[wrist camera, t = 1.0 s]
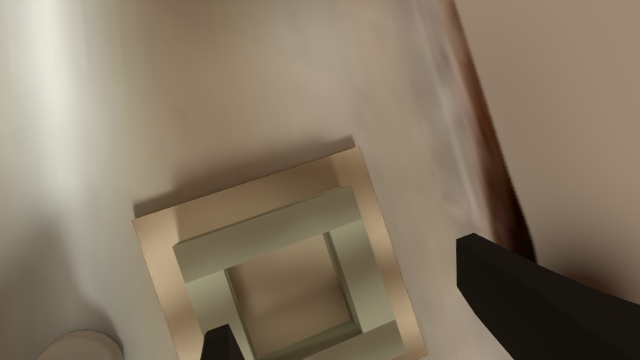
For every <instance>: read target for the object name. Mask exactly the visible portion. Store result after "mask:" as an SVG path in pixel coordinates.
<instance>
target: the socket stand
mask: <svg viewBox="0 0 640 360" xmlns="http://www.w3.org/2000/svg"><path fill="white" fill-rule="evenodd" d="M132 222H133V225H134V228H135V231H136V234H137V237H138V240H139V243H140V246H141V248H142V251H143V254H144V257H145V260H146V263H147V266H148V269H149V272H150V275H151V278H152V280H153V283H154V286H155V289H156V292H157V295H158V298H159V301H160V304H161V307H162V309H163V312H164V315H165V318H166V321H167V324H168V327H169V330H170V333H171V336H172V339H173V341H174V344H175V347H176V350H177V353H178V356H179V359H180V360H200V358H201V353H202V347H203V341H204V335H205V334H206V332H207V331H209V330H211V329H214V328H217V327H220V326H222V325H225V324H228V323H229V326H230V328H231V330H232V332H233V334H234V337H235V339H236V341H237V343H238V345H239V347H240V350H241V352H242V354H243V356H244V358H245V360H417V359H419V358H422V357H424V356H426V355H428V354H427V351H426V348H425V345H424V342H423V339H422V336H421V333H420V330H419V327H418V324H417V321H416V318H415V315H414V312H413V309H412V305H411V302H410V299H409V296H408V293H407V290H406V287H405V284H404V281H403V278H402V275H401V272H400V269H399V266H398V263H397V260H396V257H395V254H394V251H393V247H392V244H391V241H390V238H389V235H388V232H387V229H386V226H385V223H384V220H383V217H382V214H381V211H380V208H379V205H378V202H377V199H376V196H375V192H374V189H373V186H372V183H371V180H370V177H369V174H368V171H367V168H366V165H365V162H364V159H363V156H362V153H361V150H360V147H359V146H358V147H355V148H352V149H349V150H345V151H342V152H339V153H336V154H333V155H330V156H327V157H324V158H321V159H318V160H315V161H312V162H309V163H305V164H302V165H299V166H296V167H293V168H290V169H287V170H284V171H281V172H278V173H275V174H272V175H269V176H265V177H262V178H259V179H256V180H253V181H250V182H247V183H244V184H241V185H238V186H235V187H232V188H229V189H225V190H222V191H219V192H216V193H213V194H210V195H207V196H204V197H201V198H198V199H195V200H192V201H189V202H185V203H182V204H179V205H176V206H173V207H170V208H167V209H164V210H161V211H158V212H155V213H152V214H149V215H145V216H142V217H139V218H136V219H133V220H132Z"/></svg>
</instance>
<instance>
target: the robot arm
mask: <svg viewBox="0 0 640 360" xmlns="http://www.w3.org/2000/svg"><path fill="white" fill-rule="evenodd" d="M456 262H457V287H458V289H459V290H460V292H461V293H462V295H463V296H464V298H465V300H466V301H467V303H468V304H469V306H470V307H471V308H472V310H473V311H474V313H475V314H476V316H477V317H478V318H479V319H480V320H481V322H482V323H483V324H484V325H485V326H486V327H487V329H488V330H489V331H490V332H491V333H492V335H493V336H494V337H495V338H496V339H497V340H498V342H499V343H500V344H501V345H502V346H503V347H504V349H505V350H506V351H507V352H508V353H509V354H510V356H511V357H512V358H513V359H514V360H640V305H638V304H635V303H632V302H629V301H626V300H624V299H621V298H618V297H615V296H612V295H610V294H607V293H604V292H601V291H599V290H596V289H593V288H591V287H588V286H586V285H583V284H581V283H579V282H576V281H574V280H571V279H569V278H566V277H564V276H562V275H560V274H557V273H555V272H553V271H551V270H549V269H546V268H544V267H542V266H540V265H538V264H536V263H534V262H532V261H529V260H527V259H525V258H523V257H521V256H519V255H517V254H515V253H513V252H511V251H509V250H507V249H505V248H503V247H501V246H499V245H497V244H495V243H493V242H491V241H489V240H487V239H485V238H483V237H481V236H479V235H477V234H475V233H472V234H469V235H467V236H464V237H461V238H458V239H456ZM200 360H245V358H244V356H243V354H242V352H241V350H240V347H239V345H238V343H237V341H236V339H235V337H234V334H233V332H232V330H231V328H230V326H229V323H228V324H225V325H222V326H220V327H217V328H214V329H211V330H209V331H207V332H206V334H205V335H204V341H203V347H202V353H201V358H200Z"/></svg>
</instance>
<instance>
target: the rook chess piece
mask: <svg viewBox="0 0 640 360" xmlns="http://www.w3.org/2000/svg"><path fill="white" fill-rule="evenodd" d="M36 360H124V357H123V355H122V353H121V350H120V348H119V346H118V344H116V343H115V342H114V341H113V340H111V339H110V338H109V337H108V336H106V335H105V334H102V333H98V332H94V331H91V330H85V331H74V332H70V333H68V334H66V335H64V336H62V337H60V338H58V339H56V340H55V341H54V342H53V343H52V344H51V345H50V346H49V347H48V348H47V349H46V350H45V351H44V352H43V353H42V354H41V355H40V356H39V357H38V358H37V359H36Z"/></svg>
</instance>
